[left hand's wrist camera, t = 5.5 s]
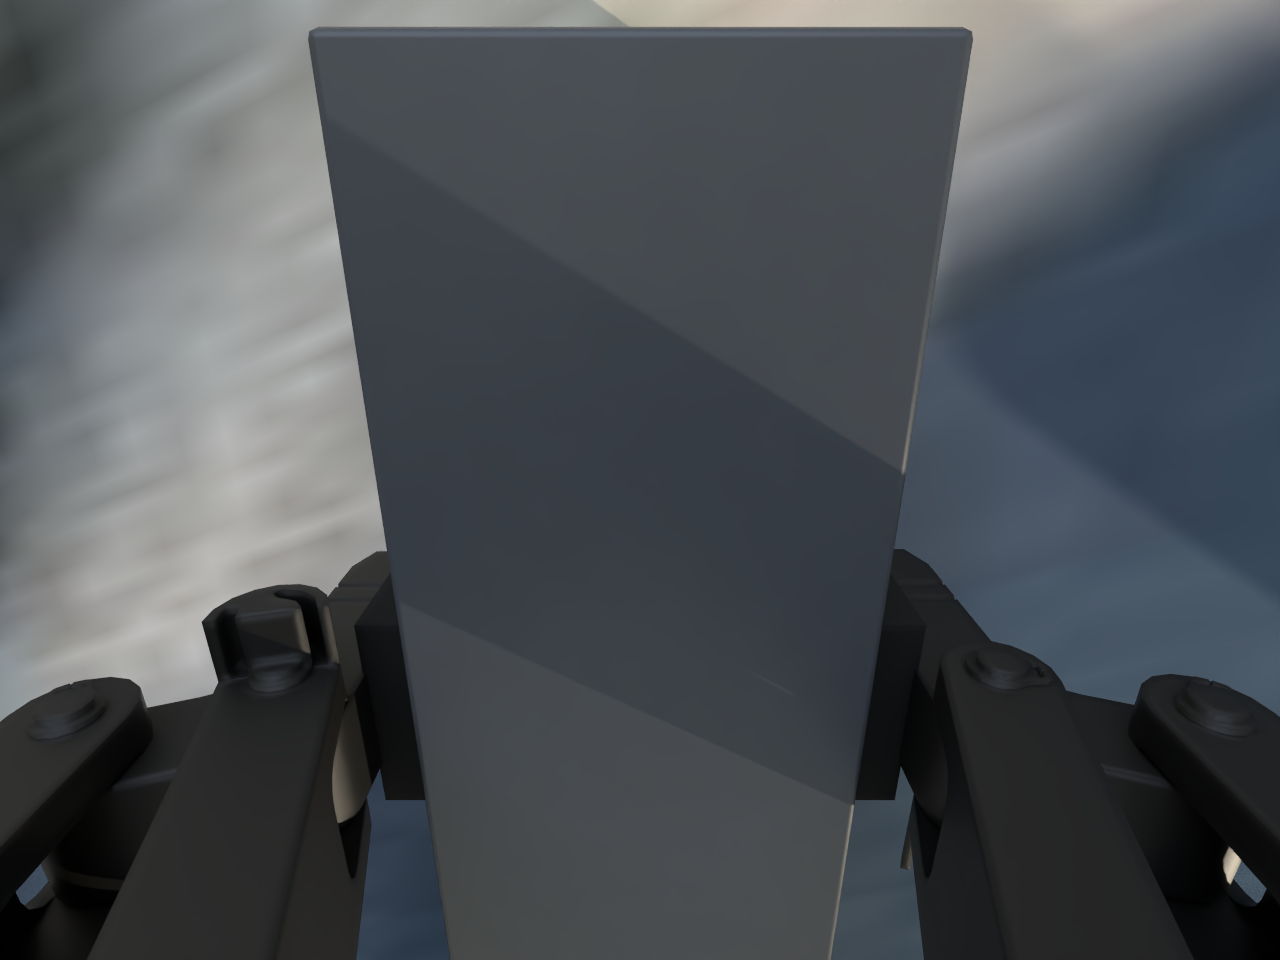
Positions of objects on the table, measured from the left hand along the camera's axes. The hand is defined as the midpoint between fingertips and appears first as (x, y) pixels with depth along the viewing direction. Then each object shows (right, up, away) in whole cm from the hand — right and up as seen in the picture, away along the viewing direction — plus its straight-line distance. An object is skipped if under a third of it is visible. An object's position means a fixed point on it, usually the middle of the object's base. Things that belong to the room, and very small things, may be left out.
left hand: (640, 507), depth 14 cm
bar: (0, -23, +10) cm, 25 cm away
